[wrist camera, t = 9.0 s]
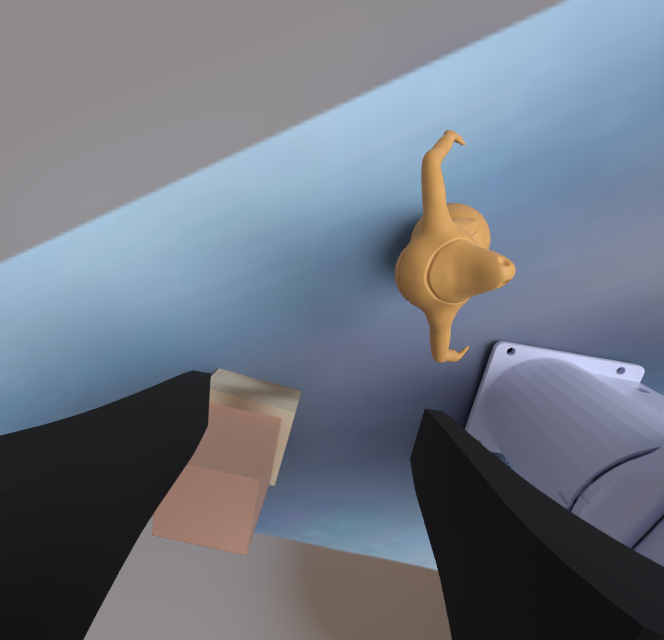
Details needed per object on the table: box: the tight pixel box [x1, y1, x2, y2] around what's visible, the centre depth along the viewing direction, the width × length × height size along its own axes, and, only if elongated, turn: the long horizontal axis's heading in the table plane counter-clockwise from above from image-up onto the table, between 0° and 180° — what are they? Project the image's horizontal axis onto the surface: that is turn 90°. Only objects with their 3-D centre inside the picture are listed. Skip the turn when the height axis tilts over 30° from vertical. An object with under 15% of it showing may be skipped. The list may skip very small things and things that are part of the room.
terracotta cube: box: [152, 403, 282, 555], centre depth 18 cm, size 5×5×5 cm
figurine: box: [395, 130, 515, 363], centre depth 13 cm, size 8×6×12 cm
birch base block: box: [209, 368, 302, 486], centre depth 22 cm, size 6×6×3 cm
